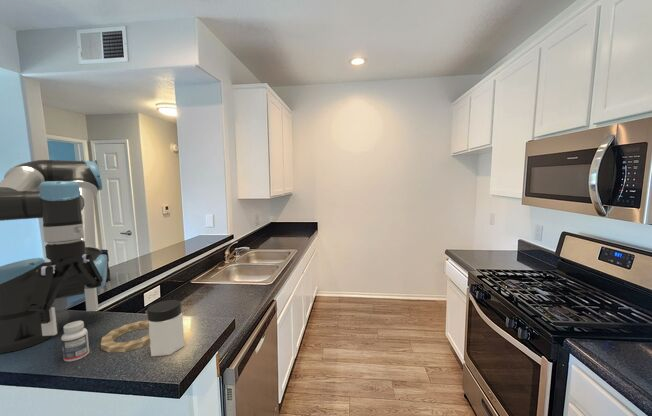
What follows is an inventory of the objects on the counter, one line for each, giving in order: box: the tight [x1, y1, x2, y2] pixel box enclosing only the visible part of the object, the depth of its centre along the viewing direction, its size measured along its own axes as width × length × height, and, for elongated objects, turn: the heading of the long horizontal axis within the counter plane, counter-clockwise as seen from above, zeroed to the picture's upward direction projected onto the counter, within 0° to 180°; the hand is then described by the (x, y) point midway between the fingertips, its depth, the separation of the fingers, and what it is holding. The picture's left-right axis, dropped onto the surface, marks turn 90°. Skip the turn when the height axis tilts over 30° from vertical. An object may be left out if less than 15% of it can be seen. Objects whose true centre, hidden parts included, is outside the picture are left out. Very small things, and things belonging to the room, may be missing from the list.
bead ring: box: [100, 320, 150, 354], centre depth 84 cm, size 15×15×2 cm
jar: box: [146, 299, 185, 357], centre depth 77 cm, size 9×8×12 cm
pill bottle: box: [60, 320, 90, 362], centre depth 75 cm, size 5×5×9 cm
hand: (73, 321), depth 74 cm, fingers open, 13 cm apart
